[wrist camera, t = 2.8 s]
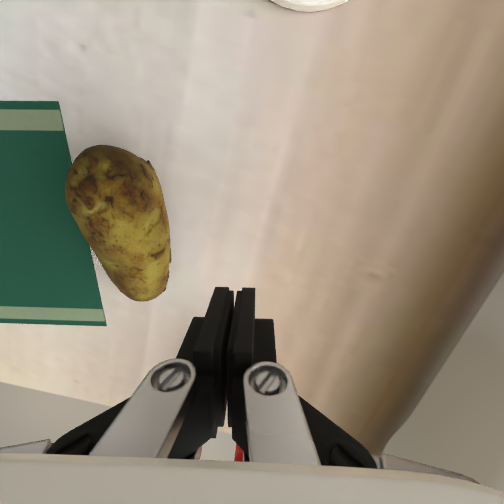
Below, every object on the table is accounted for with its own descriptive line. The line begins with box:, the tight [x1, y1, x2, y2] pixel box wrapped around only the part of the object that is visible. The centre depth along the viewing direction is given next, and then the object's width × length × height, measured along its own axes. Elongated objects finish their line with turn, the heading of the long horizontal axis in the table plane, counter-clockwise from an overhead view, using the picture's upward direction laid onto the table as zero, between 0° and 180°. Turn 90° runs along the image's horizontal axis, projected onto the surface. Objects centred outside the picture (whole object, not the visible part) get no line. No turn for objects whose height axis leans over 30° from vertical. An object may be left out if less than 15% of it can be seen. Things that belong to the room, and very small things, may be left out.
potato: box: [65, 145, 171, 301], centre depth 21 cm, size 8×13×8 cm, turn 158°
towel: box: [0, 101, 107, 326], centre depth 26 cm, size 22×16×1 cm
